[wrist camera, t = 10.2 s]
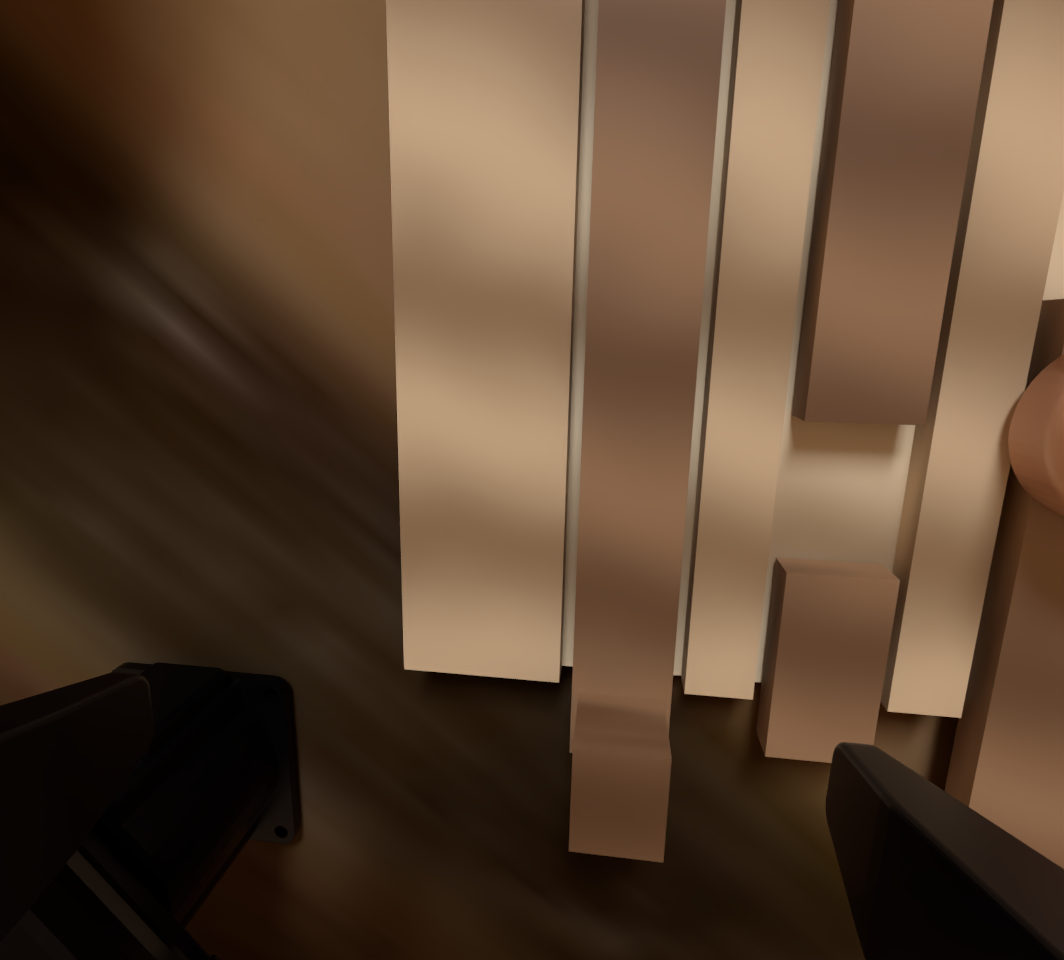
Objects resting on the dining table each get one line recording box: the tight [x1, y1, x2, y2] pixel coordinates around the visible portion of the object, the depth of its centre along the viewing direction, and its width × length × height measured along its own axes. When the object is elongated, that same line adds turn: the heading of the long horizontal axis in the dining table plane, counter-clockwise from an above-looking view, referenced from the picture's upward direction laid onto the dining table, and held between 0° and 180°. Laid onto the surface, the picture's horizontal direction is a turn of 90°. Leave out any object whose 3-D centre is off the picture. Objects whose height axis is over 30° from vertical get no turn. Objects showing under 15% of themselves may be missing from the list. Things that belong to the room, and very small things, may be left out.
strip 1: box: [569, 0, 726, 863], centre depth 16 cm, size 22×3×4 cm, turn 179°
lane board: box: [386, 0, 1064, 763], centre depth 17 cm, size 22×24×2 cm
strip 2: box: [945, 299, 1064, 869], centre depth 16 cm, size 22×3×4 cm, turn 179°
